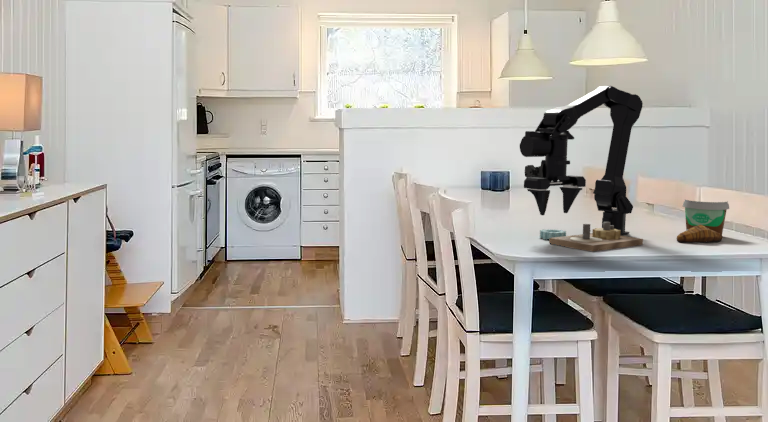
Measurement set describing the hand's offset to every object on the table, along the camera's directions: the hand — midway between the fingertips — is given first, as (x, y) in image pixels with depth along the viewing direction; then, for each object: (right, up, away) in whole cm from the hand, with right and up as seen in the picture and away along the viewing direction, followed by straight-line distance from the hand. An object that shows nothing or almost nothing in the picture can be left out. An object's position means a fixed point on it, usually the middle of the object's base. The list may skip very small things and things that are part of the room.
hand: (554, 214), depth 210 cm
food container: (+44, -7, +8) cm, 45 cm away
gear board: (+9, -8, -9) cm, 15 cm away
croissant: (+39, -8, -2) cm, 40 cm away
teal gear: (0, -7, +1) cm, 7 cm away
